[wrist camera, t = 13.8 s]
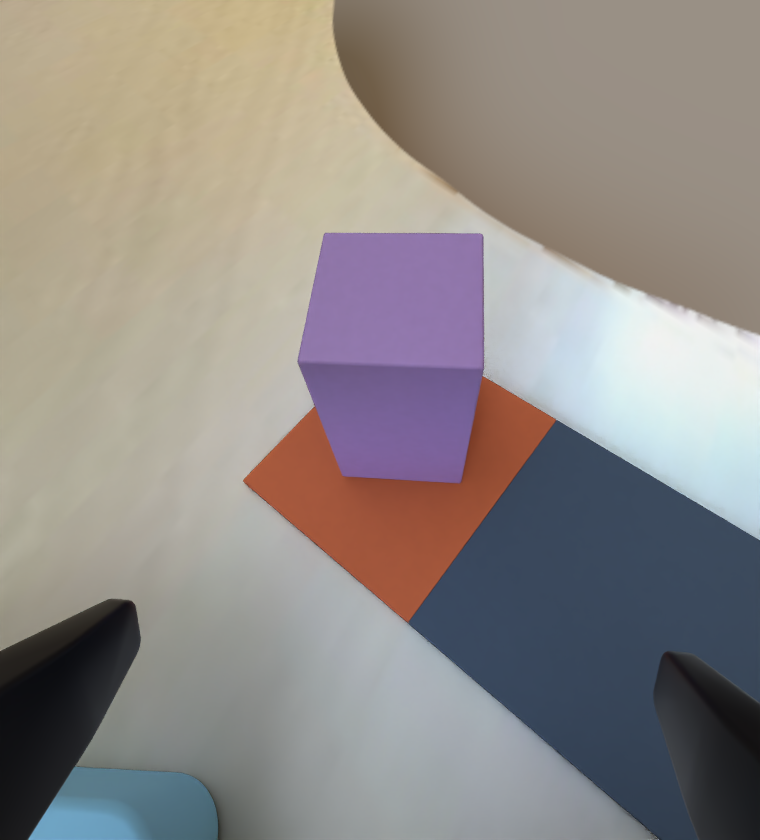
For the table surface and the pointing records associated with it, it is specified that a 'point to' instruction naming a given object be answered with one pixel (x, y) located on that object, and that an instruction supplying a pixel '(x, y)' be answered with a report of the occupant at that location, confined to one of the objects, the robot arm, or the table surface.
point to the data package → (129, 807)
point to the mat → (544, 582)
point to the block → (397, 351)
